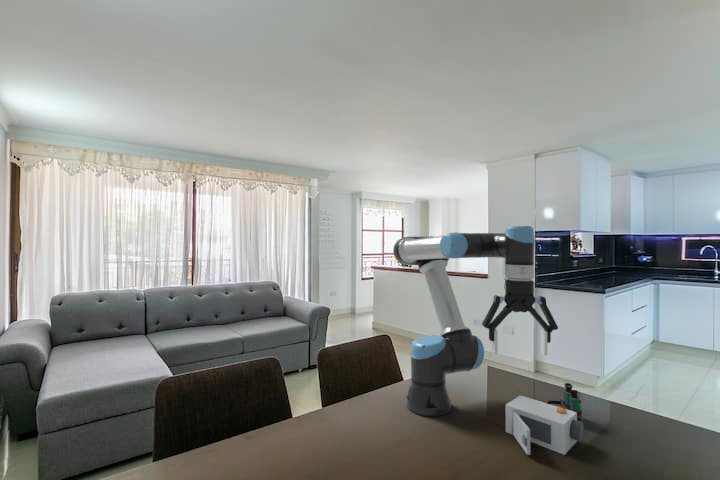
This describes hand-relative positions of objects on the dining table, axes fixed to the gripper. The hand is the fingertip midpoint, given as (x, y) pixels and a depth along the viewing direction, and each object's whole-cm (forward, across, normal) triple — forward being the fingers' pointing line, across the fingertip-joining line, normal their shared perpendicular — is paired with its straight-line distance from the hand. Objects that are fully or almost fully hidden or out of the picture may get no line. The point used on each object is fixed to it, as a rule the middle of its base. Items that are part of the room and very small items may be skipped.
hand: (519, 353), depth 104 cm
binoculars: (+25, +18, +12) cm, 33 cm away
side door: (+24, -1, -5) cm, 24 cm away
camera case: (+24, +6, +1) cm, 25 cm away
